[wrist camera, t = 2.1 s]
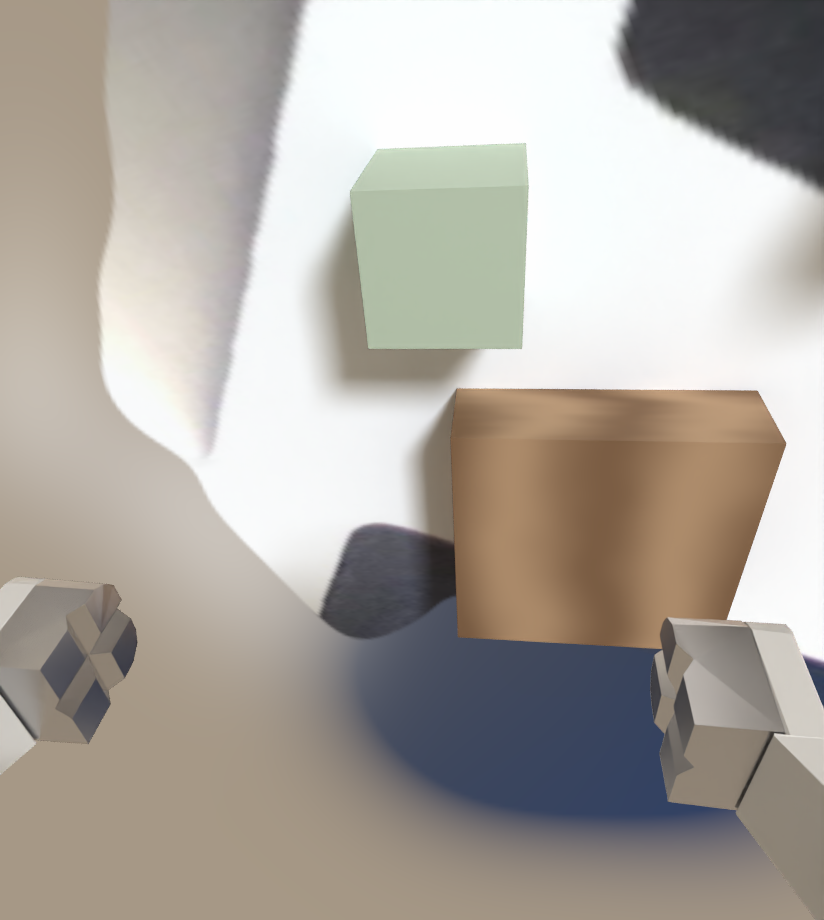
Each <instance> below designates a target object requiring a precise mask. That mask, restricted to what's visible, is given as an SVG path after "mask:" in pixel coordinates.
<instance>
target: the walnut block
mask: <svg viewBox="0 0 824 920" xmlns="http://www.w3.org/2000/svg"><path fill="white" fill-rule="evenodd" d="M785 446H786V442H785V440H784V438H783V436H782V435H781V433H780V431H779V429H778V427H777V425H776V424H775V422H774V420H773V418H772V416H771V414H770V413H769V411H768V409H767V407H766V405H765V403H764V402H763V400H762V398H761V396H760V394H759V393H758V391H735V390H596V389H457V391H456V399H455V407H454V415H453V423H452V430H451V464H452V491H453V518H454V544H455V571H456V598H457V624H458V637H464V638H481V639H500V640H518V641H534V642H551V643H552V642H553V643H569V644H586V645H604V646H622V647H639V648H657V649H662V645H661V639H660V631H661V627H662V624H663V622H664V620H665V619H666V618H667V617H672V618H692V619H713V620H727V617H728V614H729V611H730V608H731V605H732V602H733V599H734V596H735V593H736V590H737V587H738V584H739V582H740V579H741V576H742V573H743V570H744V567H745V564H746V561H747V558H748V555H749V552H750V549H751V546H752V543H753V540H754V537H755V535H756V532H757V529H758V526H759V523H760V520H761V517H762V514H763V511H764V508H765V505H766V502H767V499H768V496H769V493H770V490H771V488H772V485H773V482H774V479H775V476H776V473H777V470H778V467H779V464H780V461H781V458H782V455H783V452H784V449H785Z"/></svg>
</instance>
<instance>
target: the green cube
mask: <svg viewBox="0 0 824 920" xmlns="http://www.w3.org/2000/svg"><path fill="white" fill-rule="evenodd" d="M528 186H529V185H528V170H527V154H526V143H517V144H493V145H468V146H444V147H420V148H395V149H377V151H376V152H375V154H374V155H373V157H372V158H371V160H370V162H369V163H368V165H367V166H366V168H365V169H364V171H363V172H362V174H361V175H360V177H359V178H358V180H357V181H356V183H355V184H354V186H353V187H352V189H351V191H350V197H351V206H352V214H353V223H354V231H355V240H356V248H357V257H358V265H359V274H360V283H361V291H362V300H363V308H364V317H365V325H366V334H367V342H368V349H522V336H523V311H524V286H525V261H526V236H527V211H528Z"/></svg>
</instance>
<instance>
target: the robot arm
mask: <svg viewBox="0 0 824 920" xmlns="http://www.w3.org/2000/svg"><path fill="white" fill-rule="evenodd" d="M120 602H121V598H120V596H119V594H118V592H117V591H116V589H115V587H114V585H109V584H100V583H89V582H78V581H66V580H56V579H43V578H29V577H16V578H14V579H12V580H11V581H9V582H7V583H5V585H4V586H3V587H2V588H1V590H0V775H1V774H2V773H3V772H4V771H5V770H6V769H7V768H9V767H10V766H11V765H12V764H13V763H14V762H16V761H17V760H18V759H19V758H20V757H21V756H23V755H24V754H25V753H26V752H27V751H28V750H30V749H31V748H32V747H33V746H34V745H35V744H36V741H35V740H38V741H39V740H40V741H53V742H67V743H82V744H89V742H90V740H91V738H92V737H93V735H94V733H95V731H96V729H97V728H98V726H99V724H100V722H101V720H102V718H103V717H104V715H105V713H106V711H107V709H108V708H109V706H110V697H109V691H108V690H109V689H111V688H112V687H113V686H115V685H116V684H117V683H119V682H120V681H122V680H123V679H124V678H125V677H126V675H127V673H128V671H129V669H130V667H131V665H132V663H133V661H134V656H135V651H136V647H137V636H136V629H135V627H134V624H133V622H132V620H131V618H129V617H128V616H127V615H125V614H124V613H123V612H121V611H120V610H118V609H117V607H118V606H119V604H120ZM660 639H661V645H662V650H661V651H660V652H658V653H657V654H655V655H654V659H653V664H652V669H651V687H650V691H651V703H652V710H653V716H654V722H655V724H656V725H657V726H658V727H659V728H660V729H661V730H662V731H663V733H664V734H665V736H664V740H663V743H662V747H661V750H660V758H661V764H662V770H663V775H664V780H665V786H666V792H667V797H668V802H675V803H683V804H691V805H699V806H707V807H715V808H723V809H731V810H737V812H736V814H737V816H738V817H739V819H740V820H741V821H742V822H743V824H744V825H745V827H746V828H747V829H748V831H749V832H750V833H751V835H752V836H753V837H754V839H755V840H756V841H757V843H758V844H759V845H760V847H761V848H762V849H763V851H764V852H765V853H766V855H767V856H768V857H769V859H770V860H771V861H772V863H773V864H774V865H775V867H776V868H777V869H778V871H779V872H780V873H781V875H782V876H783V877H784V879H785V880H786V881H787V883H788V884H789V885H790V887H791V888H792V889H793V891H794V892H795V893H796V895H797V896H798V897H799V899H800V900H801V901H802V903H803V904H804V905H805V906H806V908H807V909H808V911H809V912H810V913H811V915H812V916H813V917H814V919H815V920H824V709H823V706H822V704H821V701H820V699H819V696H818V694H817V691H816V689H815V686H814V684H813V681H812V679H811V676H810V674H809V671H808V669H807V666H806V664H805V662H804V659H803V657H802V654H801V652H800V649H799V647H798V644H797V642H796V639H795V637H794V634H793V632H792V630H791V629H790V628H789V627H788V626H787V625H786V624H773V623H756V622H742V621H733V620H713V619H692V618H672V617H667V618H666V619H665V620H664V622H663V624H662V627H661V631H660Z"/></svg>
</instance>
